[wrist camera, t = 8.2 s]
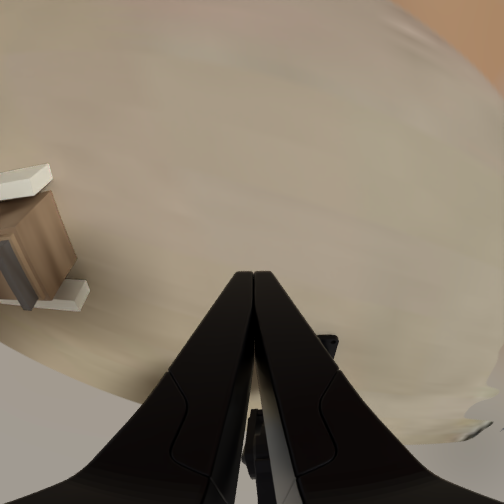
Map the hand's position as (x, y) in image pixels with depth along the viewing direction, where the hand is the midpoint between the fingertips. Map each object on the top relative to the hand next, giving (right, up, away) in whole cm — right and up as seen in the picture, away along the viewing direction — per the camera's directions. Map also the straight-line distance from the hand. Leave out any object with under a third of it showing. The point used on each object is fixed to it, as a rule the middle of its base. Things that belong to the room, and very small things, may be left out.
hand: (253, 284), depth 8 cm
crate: (-19, +3, +13) cm, 23 cm away
